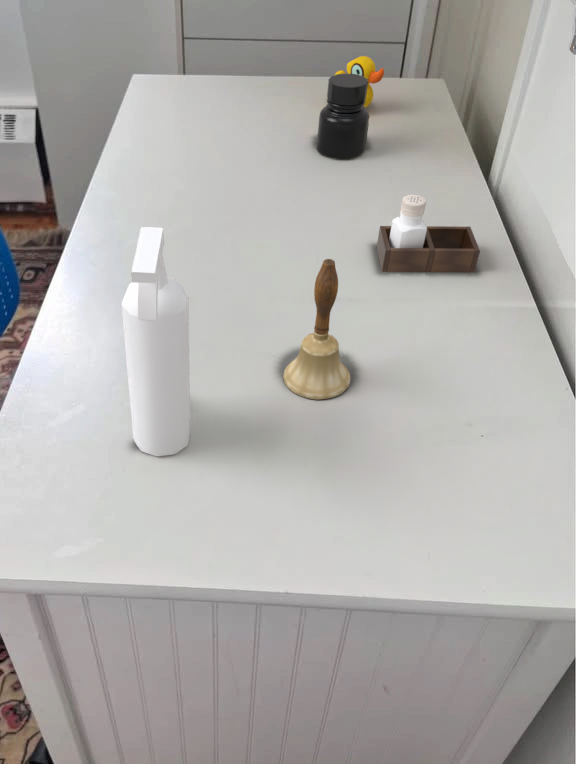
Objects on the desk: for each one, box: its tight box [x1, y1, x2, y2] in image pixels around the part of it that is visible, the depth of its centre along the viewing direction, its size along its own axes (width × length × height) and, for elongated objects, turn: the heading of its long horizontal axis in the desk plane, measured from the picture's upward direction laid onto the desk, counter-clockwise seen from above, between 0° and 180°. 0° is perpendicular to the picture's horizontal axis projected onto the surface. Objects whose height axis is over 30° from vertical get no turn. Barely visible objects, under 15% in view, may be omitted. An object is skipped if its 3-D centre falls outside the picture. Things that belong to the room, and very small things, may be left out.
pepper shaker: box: [389, 194, 428, 248], centre depth 102 cm, size 4×4×10 cm
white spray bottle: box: [121, 226, 191, 457], centre depth 74 cm, size 7×12×25 cm, turn 175°
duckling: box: [334, 55, 385, 109], centre depth 142 cm, size 11×5×10 cm, turn 46°
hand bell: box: [282, 258, 351, 400], centre depth 83 cm, size 8×8×16 cm
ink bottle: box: [316, 73, 370, 160], centre depth 129 cm, size 10×9×12 cm
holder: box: [376, 225, 481, 274], centre depth 104 cm, size 13×7×5 cm, turn 88°
